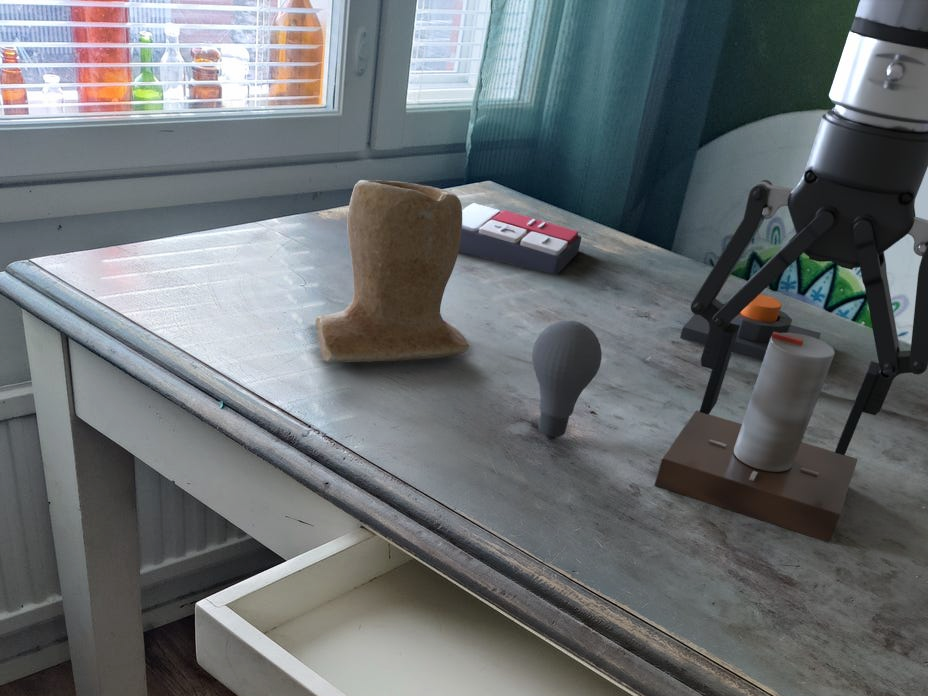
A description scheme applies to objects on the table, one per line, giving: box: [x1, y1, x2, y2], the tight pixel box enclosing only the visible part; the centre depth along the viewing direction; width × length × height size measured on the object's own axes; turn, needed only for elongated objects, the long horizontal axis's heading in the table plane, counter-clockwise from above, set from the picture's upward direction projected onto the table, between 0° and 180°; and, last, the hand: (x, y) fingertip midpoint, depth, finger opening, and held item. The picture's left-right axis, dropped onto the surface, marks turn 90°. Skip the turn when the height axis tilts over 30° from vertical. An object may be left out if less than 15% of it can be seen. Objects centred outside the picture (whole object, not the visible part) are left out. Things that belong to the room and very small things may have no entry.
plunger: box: [740, 294, 782, 322], centre depth 103 cm, size 4×4×2 cm
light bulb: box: [531, 319, 603, 440], centre depth 81 cm, size 6×6×10 cm
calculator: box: [458, 203, 582, 275], centre depth 120 cm, size 11×4×15 cm
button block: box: [679, 310, 822, 362], centre depth 105 cm, size 13×10×4 cm
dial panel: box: [654, 410, 858, 543], centre depth 81 cm, size 14×11×3 cm
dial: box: [734, 332, 836, 472], centre depth 77 cm, size 5×5×10 cm
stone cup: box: [315, 179, 470, 363], centre depth 90 cm, size 15×12×15 cm
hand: (773, 427), depth 78 cm, fingers open, 10 cm apart
